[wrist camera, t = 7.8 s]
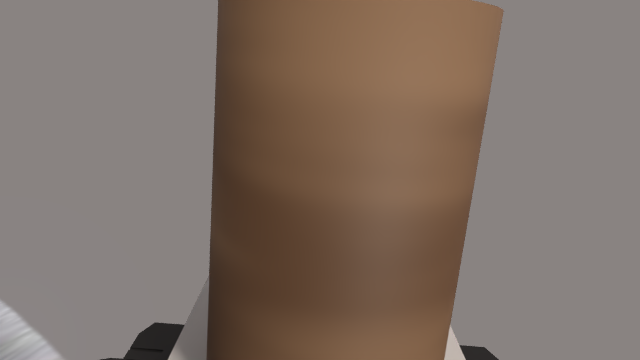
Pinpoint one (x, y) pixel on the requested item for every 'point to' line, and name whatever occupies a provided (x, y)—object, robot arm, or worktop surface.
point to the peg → (343, 174)
